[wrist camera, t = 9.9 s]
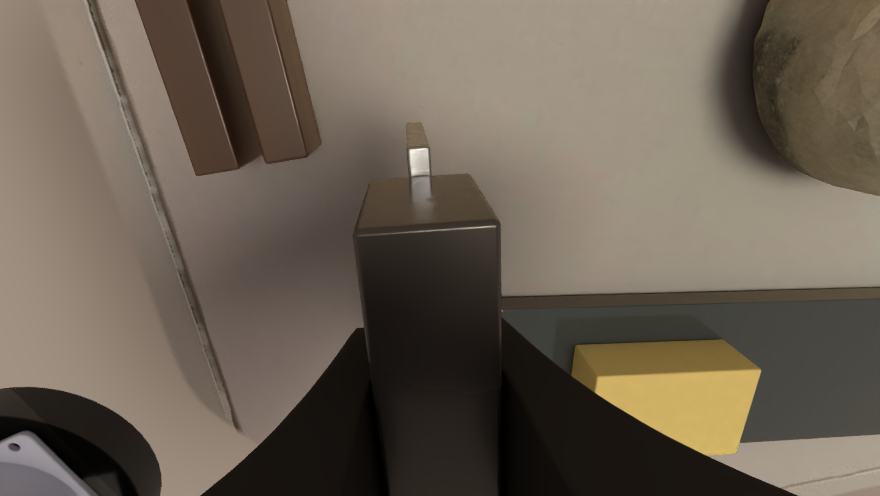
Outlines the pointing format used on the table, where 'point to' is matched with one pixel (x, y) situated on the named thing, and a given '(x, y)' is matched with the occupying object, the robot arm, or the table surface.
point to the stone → (822, 88)
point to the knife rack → (232, 80)
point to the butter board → (741, 347)
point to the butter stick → (675, 387)
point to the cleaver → (433, 328)
